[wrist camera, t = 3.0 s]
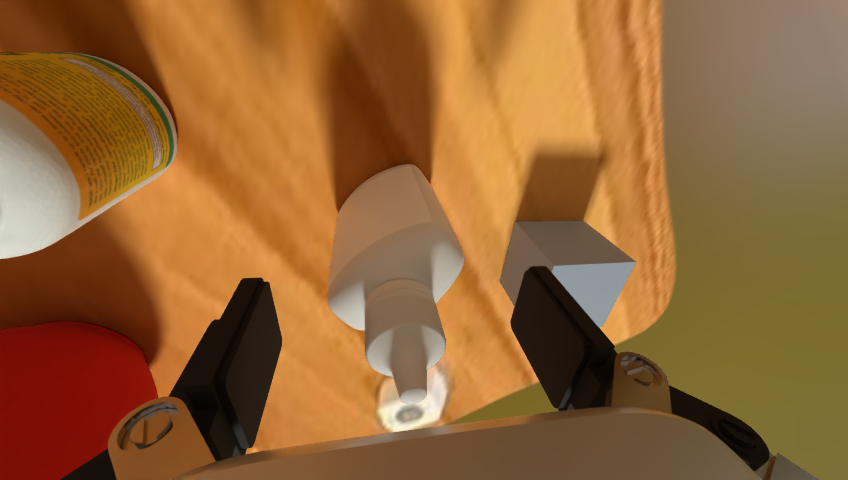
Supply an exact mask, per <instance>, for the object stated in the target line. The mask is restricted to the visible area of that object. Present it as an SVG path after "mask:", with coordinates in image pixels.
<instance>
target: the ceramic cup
mask: <svg viewBox="0 0 848 480" xmlns="http://www.w3.org/2000/svg"><path fill="white" fill-rule="evenodd" d="M157 398H158V394H157V389H156V386H155V383H154V380H153V377H152V374H151V372H150V369H149V367H148V365H147V364H146V359H145V356H144V354H143V352H142V351H141V349H140V348H139V347H138V346H137V345H136V344H135V343H134V342H132V341H131V340H129V339H128V338H126V337H125V336H123V335H121V334H119V333H117V332H115V331H112V330H109V329H106V328H104V327H101V326H97V325H92V324H88V323H81V322H69V321H58V322H47V323H43V324H39V325H35V326H25V327H16V328H9V329H3V330H0V480H60V479H61V478H63V477H65V476H66V475H68V474H69V473H71V472H72V471H74V470H75V469H77V468H78V467H80V466H81V465H83V464H84V463H86V462H88V461H89V460H91V459H92V458H94V457H95V456H97V455H98V454H100V453H101V452H103V451H104V450H106V449H107V448H108V440H109V438H110V435H111V433H112V431H113V430H114V428H115V427H116V426H117V424H118V423H119V422H120V421H121V420H122V419H123V418H124V417H125V416H126V415H127V414H128V413H129V412H131V411H133V410H134V409H136V408H137V407H139V406H140V405H142V404H144V403H146V402H149V401H151V400H153V399H157Z"/></svg>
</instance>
